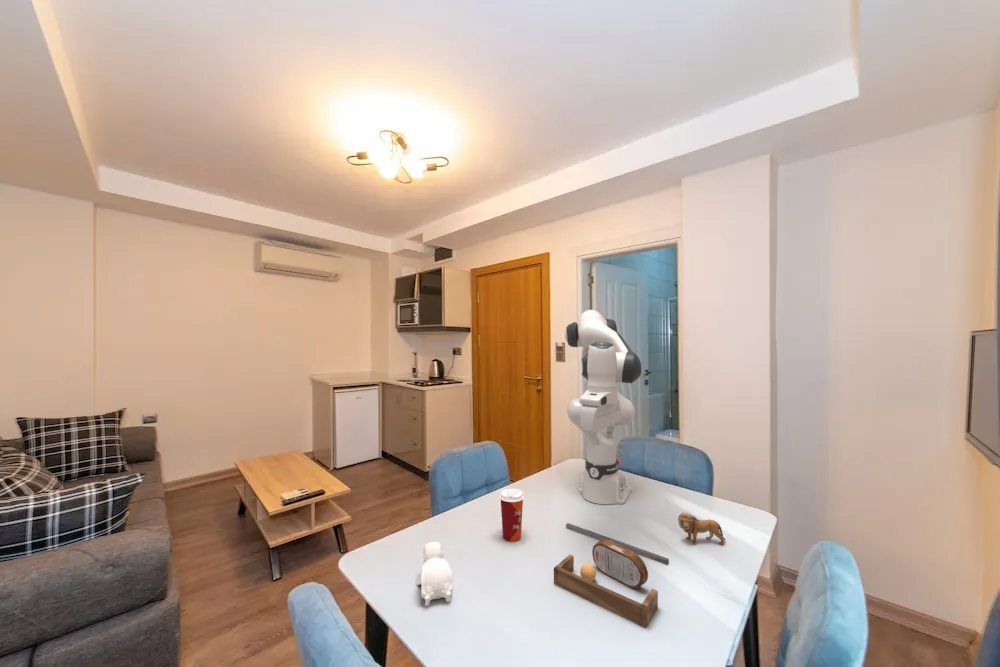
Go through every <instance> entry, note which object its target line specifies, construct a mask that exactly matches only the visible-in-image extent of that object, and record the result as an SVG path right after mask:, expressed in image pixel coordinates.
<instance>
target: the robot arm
mask: <svg viewBox="0 0 1000 667" xmlns="http://www.w3.org/2000/svg"><path fill="white" fill-rule="evenodd" d="M578 318H579V319H578V320H577V322H576V321H573V322H571V323H569V324H568V325H567V326H566V329H565V331H564V338H565V341H566V342H567V345H568V346H569V347H571V348H578V347H580V348H582V347H583V349H582V351H581V352H582V353H581V358H580V359H581V376H582V383H583V384H582V385H583V386H584V387H585V389H586V390H585V391H584V393H583V394H582V395H581V396H580V397H576V398H573V399H571V400H570V402H569V404H568V405H567V410H566V411H567V416H568V419H569V421H570V422H571V423H572V424H574V426H576V427H577V428H578V429H579V430H580V431H581V433H582V434H583V437H584V441H585V448H586V458H585V463H584V465H585V466H584V467H585V470H584V471H582V472H583V473H582V480H581V487H580V488H579V489H578V492H579V493H581V495H582V497H583V499H585V500H587V501H588V502H591V503H593V504H594V503H595V504H599V505H613V504H614V505H615V504H618V505H619V504H620V505H625V504H626V502H627V500H628V498H629V496H630V495H631V493H632V488H631V487H630V486H628V485H626V477H625V475H624V474H622V472H620V471H619V468H618V466H619V465H621V460H620V459H617V458H616V455H617V454H616V448H617V447H616V442H615V440H614V439H613V438H614V432H615V427H619V426H623V425H628V424H629V425H630V424H631V423H632V422H633V421H634V418H635V415H636V414H635V413H636V410H635V407H634V404H633V403H632V401H631V400H629V398H626V397H625V396H623V395H622V394H621V393H620V392H619V391H618V384H617V383H625V384H633V383H634V382H636V381H637V380H638V379H639V378H640V377H641V374H642V363H641V362H642V361H641V359H640V357H639V356H638V355H637V354H636V353H635V352H634V351H633V350H632V349H631V348H630V346H629V345H628V342H626V340H625V339H624V338H623V336H622V335H621V334H620V330H619V326H618V324H617V322H616V321H615V319H611V318H605V319H604V317H603V315H602V313H600V312H599V311H598V310H595V309H588V310H587V309H586V310H585V311H584V312H582V313H581V315H580V316H579V317H578ZM605 428H606V432H605V433H604V432H602V431H601V430H603V429H605Z"/></svg>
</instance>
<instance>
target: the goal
mask: <svg viewBox="0 0 1000 667" xmlns="http://www.w3.org/2000/svg"><path fill="white" fill-rule="evenodd" d="M574 562H575V560H574V555H572V554H568V555H567V556H566V557H565V558H564V559H563V560H561V561H560V562H559V563H558V564H557V565H555V566H554V567H553V585H556V586H558V587H559V588H562V589H564V590H566V591H568V592H570V593H572V594H574V595H576V596H578V597H581V598H583V599H584V600H586V601H588V602H590V603H593V604H595V605H597V606H599V607H600V608H603V609H606V610H607V611H610V612H611V613H614V614H616V615H618V616H620V617H622V618H624V619H626V620H628V621H630V622H632V623H634V624H636V625H638V626H640V627H642V628H645V629H646V628H647V626H648V625H649V623H650V622H651V620H652V618H653V616H654V615H655V614H656V612H657V610H658V608H659V599H658V598H659V596H658V595H659V590H657V589H656V588H651V590H650V591H649V592H648V594H647V596H646V597H645V599H644V600H643V601H642V603H641V602H639V601H636V600H634V599H632V598H629V597H627V596H625V595H623V594H621V593H618V592H616V591H614V590H611V589H610V588H607V587H605V586H603V585H601V584H599V583H596V582H594V581H589V580H587V579H585V578H583V577H581V575H578V574H575V573H573V572H574V570H575V569H574V568H575V566H574Z"/></svg>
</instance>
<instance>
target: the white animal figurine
mask: <svg viewBox="0 0 1000 667" xmlns="http://www.w3.org/2000/svg"><path fill="white" fill-rule="evenodd" d="M443 553H444V552H443V547H442V545H441V543H440V542H438V541H430V542H427V543H426V544H425V545H424V548H423V556H422V557H423V563H422V564H421V569H420V571H421V572H420V575H419V576H418V577H417V579H416V585H417V586H421V588H420V596H421V598H422V599H424V607H429V606H430V603H431V601H432V600H437V599H441V598H445V601H446V603H450V602H451V599H452V598H451V595H452V593H453V587H454V584H453V583H454V582H453V571H452V568H451V567H450V565H449V562H448V560H446V559H445V558H444V554H443Z"/></svg>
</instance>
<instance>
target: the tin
mask: <svg viewBox="0 0 1000 667" xmlns="http://www.w3.org/2000/svg"><path fill="white" fill-rule="evenodd" d="M591 554H592V559H593V563H594V564H595V565H596V567H597V568H598V570H599V571H600V572H601V573H602V574H604V575H606V576H607V577H610V578H611V579H613V580H615V581H617V582H619V583H621V584H622V585H624V586H626V587H627V588H631V589H634V590H635V589H639V588H641V587H642V586H643V585H644V584H646V583H647V581H648V577H649V572H648V569H647V565H646V563H645V562H644V560H643V558H642V557H640V555H639V554H636V553H634V552H633V551H631V550H628V549H626V548H624V547H622V546H620V545H618V544H616V543H613V542H611V541H609V540H607V539H602V540H598V541H597V542H596V543H595V544H594V545H593V546H592V553H591Z"/></svg>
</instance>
